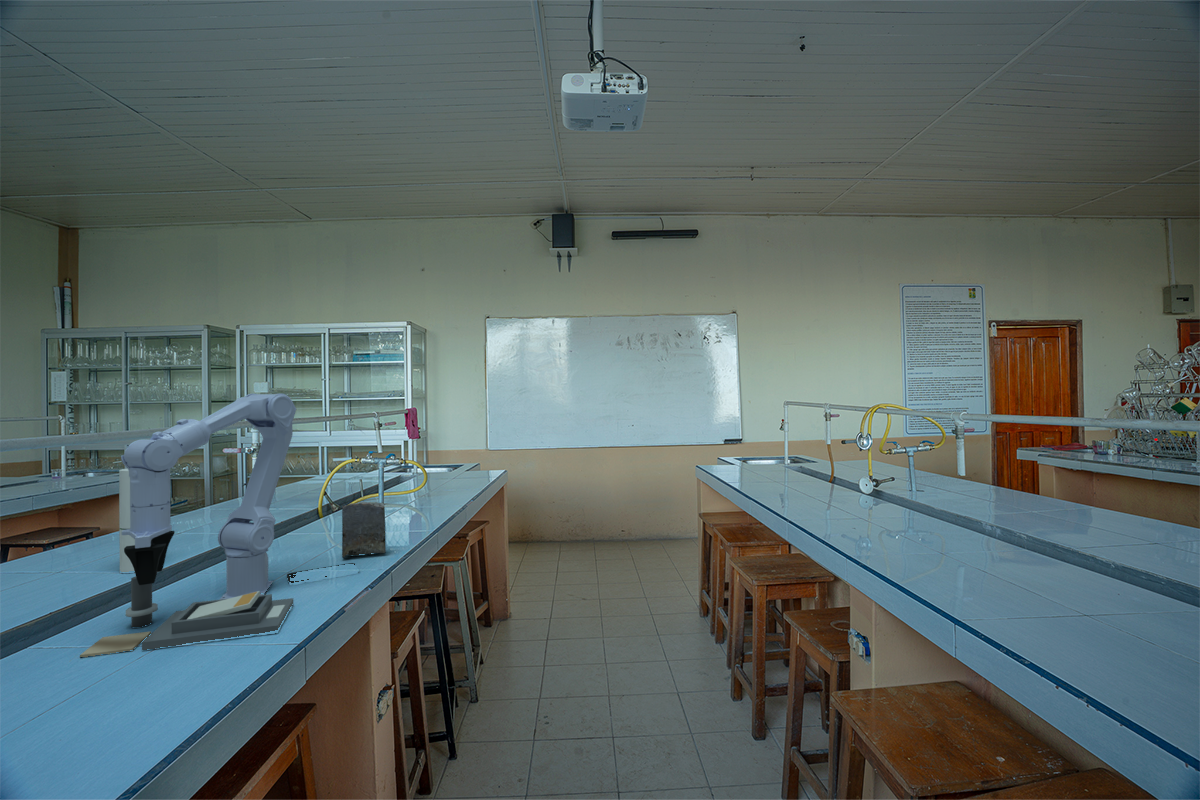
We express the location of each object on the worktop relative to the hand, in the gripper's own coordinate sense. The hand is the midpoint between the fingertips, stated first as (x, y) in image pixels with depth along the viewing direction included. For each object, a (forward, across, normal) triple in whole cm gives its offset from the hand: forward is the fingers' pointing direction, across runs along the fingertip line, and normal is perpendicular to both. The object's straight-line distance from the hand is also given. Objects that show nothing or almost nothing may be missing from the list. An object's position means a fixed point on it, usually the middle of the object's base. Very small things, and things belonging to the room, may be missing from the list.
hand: (151, 577), depth 99 cm
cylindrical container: (+10, -46, -10) cm, 48 cm away
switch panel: (+10, +6, +12) cm, 16 cm away
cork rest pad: (+10, +6, -4) cm, 12 cm away
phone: (+10, -17, +30) cm, 36 cm away
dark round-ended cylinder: (+10, -3, -2) cm, 10 cm away
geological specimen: (+10, -28, +40) cm, 50 cm away
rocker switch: (+6, +6, +12) cm, 14 cm away
